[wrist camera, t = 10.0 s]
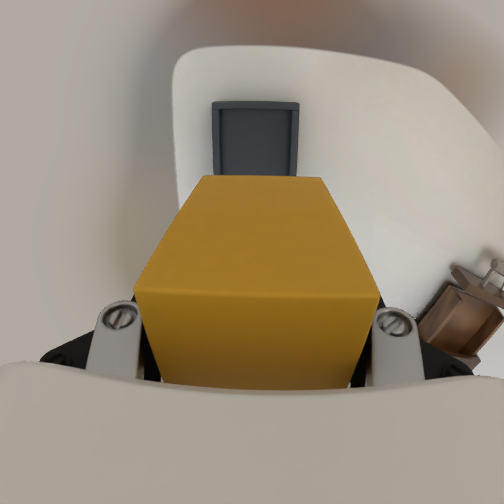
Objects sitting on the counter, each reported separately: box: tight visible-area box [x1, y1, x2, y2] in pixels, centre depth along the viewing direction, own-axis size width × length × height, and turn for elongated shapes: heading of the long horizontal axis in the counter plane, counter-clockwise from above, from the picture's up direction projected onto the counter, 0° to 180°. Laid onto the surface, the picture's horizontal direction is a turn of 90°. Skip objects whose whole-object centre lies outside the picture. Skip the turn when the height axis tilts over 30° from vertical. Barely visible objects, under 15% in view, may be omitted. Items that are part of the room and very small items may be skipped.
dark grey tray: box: [212, 101, 299, 176], centre depth 26 cm, size 9×7×2 cm
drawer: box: [417, 259, 504, 357], centre depth 32 cm, size 17×14×4 cm
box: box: [134, 175, 380, 390], centre depth 10 cm, size 6×4×7 cm
